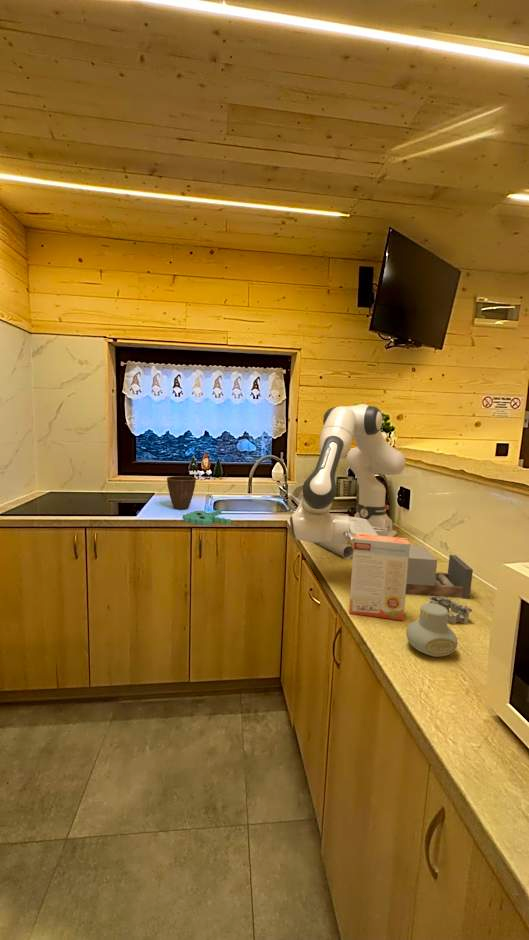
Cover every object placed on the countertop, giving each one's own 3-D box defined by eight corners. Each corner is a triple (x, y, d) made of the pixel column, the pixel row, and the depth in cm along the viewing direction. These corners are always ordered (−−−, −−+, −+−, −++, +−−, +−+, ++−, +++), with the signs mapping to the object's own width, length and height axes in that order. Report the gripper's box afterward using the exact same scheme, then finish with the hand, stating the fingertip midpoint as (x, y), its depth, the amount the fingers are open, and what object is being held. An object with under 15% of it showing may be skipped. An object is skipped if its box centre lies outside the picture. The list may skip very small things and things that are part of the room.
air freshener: (415, 660, 93) (419, 617, 92) (399, 640, 101) (403, 600, 100) (462, 659, 94) (467, 617, 93) (443, 639, 103) (447, 600, 101)
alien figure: (220, 514, 217) (180, 515, 209) (220, 509, 216) (180, 511, 209) (231, 524, 198) (188, 526, 191) (231, 520, 198) (188, 522, 191)
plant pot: (160, 507, 223) (160, 477, 220) (183, 503, 234) (183, 475, 232) (178, 513, 213) (179, 481, 211) (201, 508, 224) (202, 478, 222)
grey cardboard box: (400, 583, 127) (403, 557, 126) (390, 567, 140) (392, 544, 139) (434, 585, 127) (437, 559, 126) (421, 569, 140) (423, 546, 139)
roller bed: (392, 593, 128) (395, 564, 127) (383, 577, 141) (385, 550, 140) (469, 598, 127) (472, 569, 126) (452, 581, 140) (455, 555, 138)
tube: (304, 531, 178) (341, 549, 156) (314, 526, 180) (352, 543, 158) (307, 542, 179) (344, 561, 157) (317, 537, 181) (355, 555, 159)
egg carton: (472, 625, 111) (474, 610, 111) (445, 625, 110) (447, 610, 110) (449, 606, 122) (451, 592, 121) (425, 606, 121) (426, 592, 120)
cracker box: (401, 611, 116) (408, 537, 113) (403, 621, 110) (410, 543, 108) (349, 604, 119) (354, 531, 116) (348, 613, 113) (354, 537, 111)
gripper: (347, 528, 122) (396, 531, 121) (339, 512, 142) (381, 515, 142) (345, 549, 123) (394, 553, 122) (337, 531, 143) (379, 534, 142)
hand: (387, 532), depth 132 cm, fingers closed
